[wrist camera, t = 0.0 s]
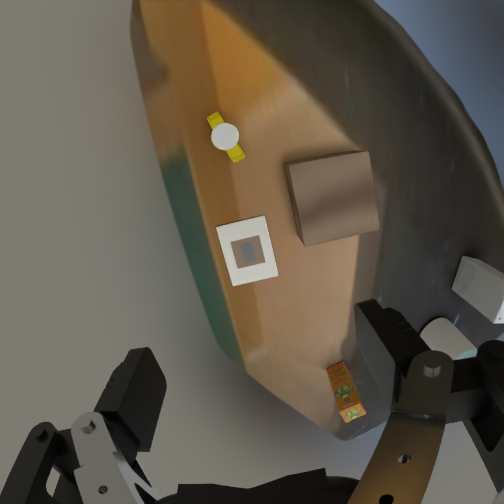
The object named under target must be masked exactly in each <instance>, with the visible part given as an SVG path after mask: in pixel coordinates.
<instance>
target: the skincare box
mask: <svg viewBox="0 0 504 504" xmlns="http://www.w3.org/2000/svg"><path fill="white" fill-rule="evenodd" d="M452 290H453V291H454V292H456V293H457V294H458V295H459V296H461V297H462V298H463V299H464V300H466V301H467V302H468V303H470V304H471V305H472V306H473V307H474V308H476V309H477V310H478V311H479V312H481V313H482V314H483V315H484V316H486V317H487V318H488V319H489V320H490V321H491V322H493V323H504V274H503V273H501V272H500V271H498V270H496V269H494V268H493V267H491V266H489V265H487V264H486V263H484V262H482V261H480V260H479V259H475V258H471V257H467V256H462V259H461V262H460V265H459V268H458V271H457V274H456V277H455V280H454V283H453V286H452Z"/></svg>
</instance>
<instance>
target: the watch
mask: <svg viewBox="0 0 504 504" xmlns="http://www.w3.org/2000/svg"><path fill="white" fill-rule="evenodd" d="M207 120H208V122H209V124H210V126H211V128H212V129H213V131H212V134H211V141H212V143H213V145H214V146H215V147H216V148H218V149H220V150H226V152H227V153H228V155H229V157H230V158H231V159H232V161H233V162H234V163H236V162H238V161H240V160H242V159H243V158H245V154H244V153H243V151H242V149H241V148H240V146H239V144H238V141H239V132H238V130H237V128H236V127H235V126H233V125H232V124H229V123H225V122H224V120H223V118H222V117H221V115H220V114H219V112H215V113H214V114H212V115H210V116H209V117H207Z"/></svg>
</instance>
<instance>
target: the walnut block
mask: <svg viewBox="0 0 504 504" xmlns="http://www.w3.org/2000/svg"><path fill="white" fill-rule="evenodd" d="M283 167H284V172H285V176H286V181H287V185H288V190H289V194H290V199H291V204H292V209H293V214H294V218H295V223H296V228H297V233H298V236H299V238H300V240H301V241H302V243H303V244H304V246H305V247H308V246H312V245H316V244H320V243H325V242H329V241H333V240H338V239H342V238H346V237H350V236H354V235H359V234H363V233H367V232H371V231H376V230H379V221H378V212H377V204H376V196H375V189H374V183H373V176H372V170H371V164H370V158H369V153H368V151H348V152H342V153H336V154H331V155H325V156H320V157H314V158H309V159H304V160H299V161H294V162H289V163H284V164H283Z"/></svg>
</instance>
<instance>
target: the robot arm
mask: <svg viewBox="0 0 504 504" xmlns="http://www.w3.org/2000/svg"><path fill="white" fill-rule="evenodd" d="M354 312H355V324H356V338H357V343H358V347H359V350H360V352H361V354H362V356H363V358H364V360H365V362H366V364H367V366H368V368H369V370H370V372H371V374H372V376H373V378H374V380H375V382H376V384H377V386H378V388H379V390H380V392H381V394H382V396H383V398H384V400H385V402H386V404H387V406H388V408H389V410H390V412H392V413H391V414H390V416H389V418H388V421H387V423H386V425H385V428H384V430H383V433H382V435H381V437H380V440H379V442H378V444H377V446H376V448H375V451H374V453H373V455H372V457H371V459H370V461H369V463H368V465H367V467H366V469H365V471H364V473H363V475H362V477H361V479H360V480H357V479H353V478H348V477H340V476H339V477H338V476H326V471H325V468H322V469H317V470H313V471H308V472H303V473H298V474H293V475H288V476H284V477H282V478H279V479H276V480H274V481H271V482H268V483H265V484H262V485H259V486H257V487H253V488H249V489H245V488H237V487H230V486H223V485H217V484H178V491H177V493H176V494H172V495H169V496H166V497H164V498H163V497H162V496H161V495H160V493H159V492H158V491H157V489H156V487H155V486H154V484H153V483H152V481H151V479H150V478H149V476H148V474H147V473H146V471H145V469H144V468H143V466H142V464H141V462H140V461H139V459H138V458H137V457H136V456H137V452H149V451H150V448H151V444H152V440H153V436H154V433H155V429H156V425H157V421H158V418H159V414H160V411H161V407H162V403H163V400H164V396H165V393H166V388H167V386H166V379H165V376H164V374H163V372H162V370H161V368H160V367H159V365H158V363H157V361H156V359H155V357H154V355H153V353H152V351H151V349H150V348H148V347H144V348H137V349H131V350H130V351H129V352H128V354H127V356H126V358H125V360H124V362H122V363H121V364H120V365H119V366H118V367H117V368H116V369H115V370H114V371H113V373H112V375H111V377H110V379H109V381H108V383H107V385H106V388H105V389H104V391H103V393H102V395H101V397H100V399H99V401H98V403H97V405H96V407H95V409H94V411H93V412H88V413H84V414H83V415H81V416H79V417H78V418H77V419H76V420H75V421H74V423H73V424H72V427H71V429H66V430H61V431H58V430H57V429H56V428H55V427H54V425H53V424H52V423H50V422H42V423H39V424H38V425H36V426H35V427H34V428H33V429H32V430H31V431H30V433H29V435H28V437H27V439H26V441H25V443H24V445H23V447H22V449H21V451H20V453H19V455H18V457H17V459H16V461H15V463H14V465H13V467H12V470H11V472H10V474H9V476H8V478H7V481H6V483H5V486H4V488H3V490H2V492H1V495H0V504H421V502H422V499H423V497H424V494H425V492H426V489H427V486H428V483H429V480H430V477H431V474H432V471H433V468H434V465H435V462H436V459H437V455H438V452H439V448H440V445H441V441H442V437H443V433H444V428H445V424H448V423H454V422H459V421H463V423H464V425H465V427H466V429H467V431H468V433H469V434H470V436H471V438H472V440H473V442H474V444H475V446H476V448H477V450H478V452H479V454H480V456H481V458H482V460H483V462H484V464H485V466H486V468H487V470H488V473H489V475H490V477H491V479H492V481H493V483H494V486H495V488H496V490H497V493H498V494H497V495H496V496H495V498H494V499H493V502H492V504H504V342H503V341H500V340H490V341H487V342H485V343H483V344H482V345H480V347H479V348H478V350H477V354H476V356H475V357H469V358H464V359H457V360H452V358H451V357H450V356H449V355H448V354H446V353H444V352H441V351H436V350H431V349H430V348H429V346H428V345H427V344H426V343H425V341H424V340H423V339H422V338H421V336H420V335H419V334H418V333H417V332H416V330H415V329H414V328H412V326H411V324H410V323H409V322H407V320H406V319H405V317H404V316H403V315H402V314H401V313H400V312H398V311H396V310H394V309H392V308H390V307H389V308H385V309H382V308H381V306H380V305H379V304H378V302H377V301H376V300H375V299H370V300H366V301H363V302H359V303H356V304H355V305H354ZM393 411H394V412H393ZM52 467H53V468H54V469H55V470H56V471H58V472H59V473H60V474H61V475H60V477H59V480H58V483H57V486H56V489H55V492H54V495H53V497H51V496H50V495H49V494H48V492H47V490H46V482H47V479H48V477H49V474H50V471H51V468H52Z"/></svg>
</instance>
